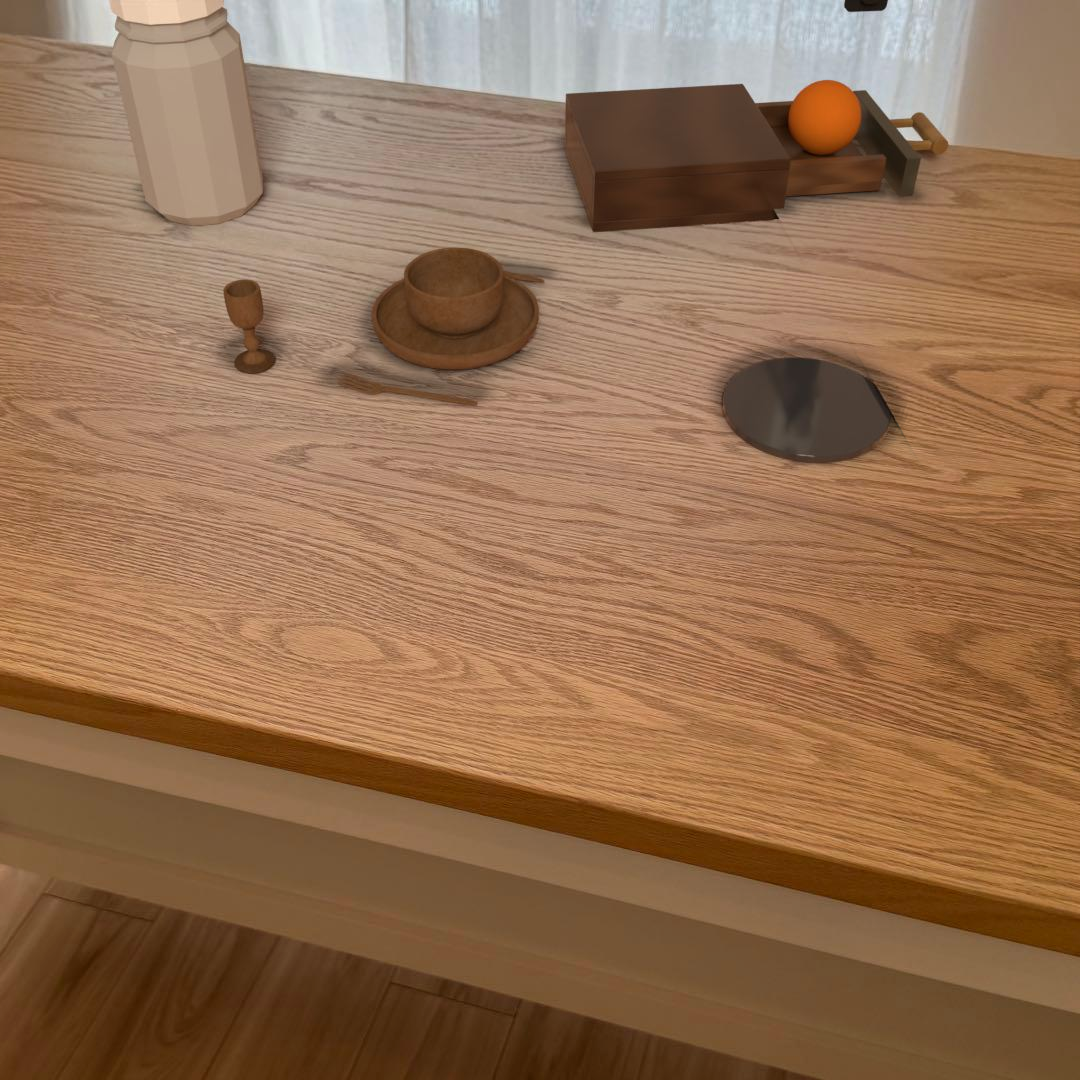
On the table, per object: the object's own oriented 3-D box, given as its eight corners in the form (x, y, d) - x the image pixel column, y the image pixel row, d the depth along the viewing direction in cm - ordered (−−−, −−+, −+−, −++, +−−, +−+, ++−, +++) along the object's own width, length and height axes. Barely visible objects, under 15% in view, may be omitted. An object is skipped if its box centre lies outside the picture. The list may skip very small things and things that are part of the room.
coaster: (857, 358, 87) (859, 351, 87) (913, 455, 79) (915, 448, 79) (705, 370, 86) (705, 363, 86) (746, 470, 78) (747, 463, 78)
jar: (130, 227, 101) (74, -2, 88) (169, 172, 108) (122, -47, 96) (248, 234, 100) (208, 4, 88) (279, 178, 107) (246, -42, 95)
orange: (841, 134, 109) (853, 66, 105) (864, 165, 105) (877, 95, 101) (775, 138, 108) (784, 70, 104) (795, 169, 104) (805, 99, 100)
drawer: (903, 123, 113) (911, 87, 111) (961, 193, 103) (970, 154, 101) (702, 135, 111) (705, 98, 109) (741, 208, 101) (746, 169, 99)
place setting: (506, 415, 82) (505, 340, 78) (224, 375, 85) (209, 301, 81) (561, 280, 95) (562, 209, 91) (314, 250, 98) (304, 180, 94)
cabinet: (736, 140, 113) (743, 83, 109) (782, 219, 102) (791, 158, 98) (564, 151, 111) (565, 93, 107) (593, 232, 100) (595, 171, 97)
